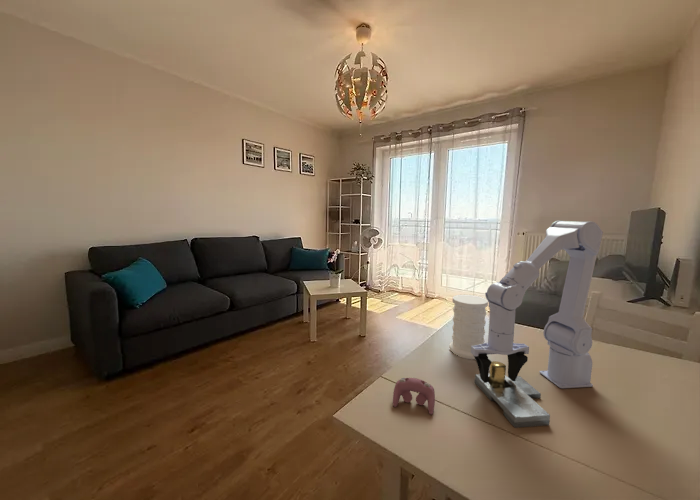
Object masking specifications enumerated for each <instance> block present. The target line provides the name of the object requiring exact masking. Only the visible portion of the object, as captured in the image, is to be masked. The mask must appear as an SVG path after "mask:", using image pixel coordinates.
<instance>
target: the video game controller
mask: <svg viewBox="0 0 700 500" xmlns="http://www.w3.org/2000/svg"><path fill="white" fill-rule="evenodd" d="M412 392H414V393H415V392H416V393H418V394H417V395H416V397H415V402H416V403H417V405H420V406H423V405H425V403H426V401H427V410H428V414H429V415H433V413H434V410H435V402H436V398H435V397H436V394H435V388H434V387H433V385H431V384H430V383H428V382H426V381H425V380H423V379H420V378H415V377H406V378H405V377H403V378H401V379H398V380H397V382H396V383H395V385H394V388H393V395H392V405H393V407H394V408H397V406H399V405H398V404H399V403H400V400H401V398H402V399H403V401H404V402H405V403H410V402H412V401H413V395H412V394H413V393H412Z"/></svg>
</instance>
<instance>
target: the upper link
mask: <svg viewBox="0 0 700 500" xmlns="http://www.w3.org/2000/svg"><path fill="white" fill-rule="evenodd" d="M489 378H490V373H488V381H489ZM475 379H476V380H477V381H478V382H479V383H480V385H481V386H482V387H483V388H484V389H485V390H486V391H487V392H488V393H489V394H490V396H491V397H492V398H493V399H494V400H495V401H494V402H496V403H497V405H498V406H499V407H500V408H501V409H502V410H503V417H505V418H506V420H507V421H509V423H510V424H511V425H512V426H513V427H514V428H527V427H528V428H529V427H530V428H531V427H539V426H542V427H543V426H544V427H545V426H550V421H551V420H550V418H551V414H549V412H547V411H546V410H545V409H544V407H541V406H540V405H539V404H538V403H537V401H535V400H534V399H532V398H530V397H529V396H528V395H527V394H526V393H525V392H524V391H523V390H521V389H520V388H519V387H518V386H517V385H516V384H515V383H514V382H513V381H511V380H510V379H509V378H508V375H506V374H505V384H506V385H507V386H508V387H509V388H493V387H492V386H491V385H490V384H489V383H488V382H487V383H484V382H483V381H482V380H481V378H480V373H478V374H477V373H476V374H474V380H475Z"/></svg>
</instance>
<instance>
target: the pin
mask: <svg viewBox="0 0 700 500" xmlns="http://www.w3.org/2000/svg"><path fill="white" fill-rule="evenodd" d="M491 362H492V363H491V365H490V368H489V374H490V378H489V384H490V385H491V386H492V387H493V388H504V386H505V375H506V370H507V365H506V364H505V363H503V362H500V361H495V360H493V361H491Z"/></svg>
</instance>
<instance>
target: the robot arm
mask: <svg viewBox="0 0 700 500" xmlns="http://www.w3.org/2000/svg"><path fill="white" fill-rule="evenodd" d="M603 235H604V231H603V229H601V227H600V226H599V224H598V223H597V222H595V221H593V220H591V221H577V220H576V221H575V220H574V221H571V220H555V221H554V222H552V223H551V224H550V225H549V227H548V228H547V229H546V230H545V237H544V239H543V240H542V241H541V242H540V243H539V245H538V246H537V247H536V248H535V249H534V250H533V252H532V253H531V254H530V256H529V257H528V258H527V259H526V260H525V261H524V260H522V261H518V262H515V263H514V264H513V266H512V268H511V269H510V270H509V271H508V272H507V273H506V274H505V276H503V277H502V278H501V279H500V281H497V282H494V283H492V284H490V285H489V286H488V288H487V291H486V292H485V299H487V300H488V308H489V316H488V317H489V321H488V323H489V324H488V335H487V338H488V339H487V342H484V344H480V345H476V346H471V353H472V354H473V355H474V357H475V359H474V360H475V361H476V365H477V367H478V371H479V374H480V378H481V380H482V381H483V382H484V383H487V382H488V374H489V373H490V365H491V363H492V362H493V361H491V360H490V359H489V356H488V355H502V356H507V362H508V363H507V377H509V378H510V379H511V380H512V381H515V380H516V378H517V376H519V374H520V371H521V369H522V367H524V365H526V363H527V362H528V356H527V355H529V353H530V346H528V345H527V344H525V343H518V342H514V337H515V324H516V321H515V320H516V312H517V311H516V309H517V308H519V307H520V306H521V305H522V303H523V300H524V296H525V295H526V291H527V290H528V289H529V288H530V287H532V285H533V283H534V282H535V281H536V280H537V279H538V278H539V277H540V269H541V268H542V267H543V266H544V265H545V264H547V263H548V262H549V261H550V260H551V259H553V257H555V256H556V255H557V254H558V253H559V252H560V251H563V250H564V251H565V253H566V254H567V255H568V256H569V262H568V267H567V272H566V276H565V281H564V284H563V290H562V294H561V299H560V304H559V308H558V312H556V313H554V314H552V315H550V316H548V320H547V322H546V324H545V326H544V328H543V337H544V339H545V340H546V341H547V343H546V344H547V345H548V346H549V349H548V350H549V351H548V362H547V370H539V374H540V375H542V376H544V377H545V378H547V380H548V381H550V382H551V383H553V384H555V386H557V387H558V388H560V389H573V388H575V389H576V388H590V387H593V386H594V384H593V383H591V381H592V380H591V379H592V370H593V359H592V356H591V355H590V353H589V351H591V349H592V346H593V337H592V333H593V328H592V326H590V324H589V323H588V322H587V321H586V319H585V318H584V316H585V315H584V314H585V311H586V310H585V309H586V307H587V306H586V305H587V301H588V296H589V292H590V288H591V284H592V279H593V274H594V269H595V265H596V260H597V256H598V255H599V253H600V248H601V243H602V238H603Z"/></svg>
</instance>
